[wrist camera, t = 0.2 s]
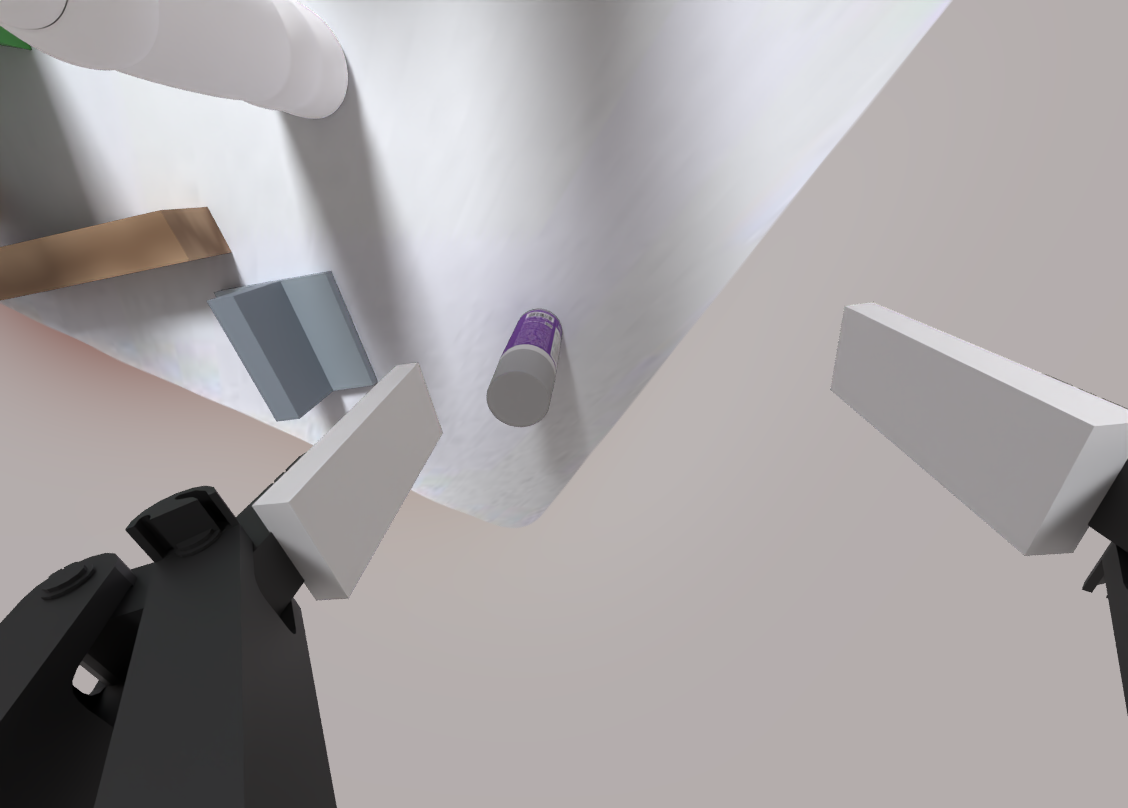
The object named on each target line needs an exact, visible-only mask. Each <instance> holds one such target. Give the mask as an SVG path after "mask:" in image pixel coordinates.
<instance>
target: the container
mask: <svg viewBox="0 0 1128 808" xmlns="http://www.w3.org/2000/svg"><path fill="white" fill-rule="evenodd" d="M561 339H562V326H561V323H560V321H559V319H558V318H557V317H556V316H555V315H554V314H553V313H551V312H550V311H547V310H545V309H533V310H530V311H528V312H526V313H525V314H523V315H522V317H521V318H520V320H519V321H518V323H517V325H516V327H515V329H514V332H513V334H512V336H511V338H510V340H509V342H508V344H507V346H506V348H505V350H504V352H503V354H502V356H501V358H500V360H499V363H498V366H497V368H496V370H495V373H494V375H493V378H492V380H491V383H490V385H489V388H488V390H487V403H488V406H489V409H490V410H491V412H492V413H493V415H494V416H495V417H496V418H497V419H499V420H500V421H501V422H503V423H505V424H508V425H510V426H515V427H526V426H530V425H533V424H535V423H537V422H539V421H540V420H541V419H542V418H543V417H544V416H545V415H546V413H547V411H548V409H549V405H550V400H551V395H552V391H553V386H554V382H555V377H556V371H557V365H558V358H559V352H560V345H561Z"/></svg>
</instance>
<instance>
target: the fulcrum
mask: <svg viewBox="0 0 1128 808" xmlns="http://www.w3.org/2000/svg"><path fill="white" fill-rule="evenodd" d="M214 294H215V295H216V297H217V298H214V299H211V300H207V302H208V304H209V306H210V308H211V309H212V311H213V313H214V314H215V316H216V318H217V320H218V321H219V323H220V325H221V327H222V328H223V330H224V332H225V333H226V335H227V337H228V339H229V340H230V342H231V344H232V345H233V347H234V349H235V351H236V352H237V354H238V356H239V358H240V359H241V361H242V363H243V364H244V366H245V368H246V370H247V371H248V373H249V375H250V376H251V378H252V380H253V382H254V383H255V385H256V387H257V389H258V390H259V392H260V394H261V395H262V397H263V399H264V401H265V402H266V404H267V406H268V407H269V409H270V411H271V413H272V414H273V416H274V418H275V420H276V421H285V420H292V419H300V418H301V417H302V416H303V415H305V414H306V413H307V412H308V411H310V410H311V409H312V408H313V407H314V406H316V405H317V404H318V403H319V402H320V401H322V400H323V399H324V398H325V397H326V396H328V395H329V394H330V393H331V392H332V391H336V390H343V389H350V388H357V387H365V386H372V385H374V384H375V383H376V382H377V379H376V377H375V374H374V372H373V370H372V367H371V365H370V363H369V360H368V358H367V355H366V353H365V351H364V348H363V346H362V344H361V341H360V339H359V336H358V334H357V332H356V329H355V327H354V325H353V322H352V320H351V318H350V315H349V313H348V310H347V308H346V306H345V303H344V301H343V299H342V296H341V294H340V291H339V289H338V287H337V284H336V282H335V280H334V277H333V275H332V272H331V271H328V272H322V273H317V274H311V275H305V276H300V277H294V278H288V279H283V280H277V281H271V282H265V283H260V284H254V285H248V286H243V287H237V288H231V289H226V290H221V291H217V292H214Z"/></svg>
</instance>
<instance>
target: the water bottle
mask: <svg viewBox="0 0 1128 808" xmlns="http://www.w3.org/2000/svg"><path fill="white" fill-rule="evenodd" d="M0 26H1V27H3V28H4V29H6V30H7V31H9V32H10V33H12V34H13V35H15V36H16V37H18V38H19V39H21V40H22V41H24V42H26V43H27V44H29V45H31V46H32V47H34V48H36V49H38V50H40V51H41V52H43V53H45V54H47V55H50V56H52V57H54V58H56V59H59V60H61V61H64V62H67V63H70V64H73V65H76V66H80V67H84V68H89V69H95V70H116V71H119V72H121V73H125V74H128V75H131V76H134V77H137V78H141V79H144V80H147V81H151V82H154V83H158V84H162V85H166V86H170V87H174V88H178V89H182V90H186V91H191V92H195V93H200V94H205V95H210V96H215V97H220V98H226V99H233V100H242V101H245V102H247V103H249V104H252V105H255V106H258V107H261V108H265V109H270V110H278V111H283V112H286V113H289V114H292V115H295V116H299V117H303V118H309V119H319V118H324V117H327V116H329V115H331V114H332V113H334V112H335V111H336V110H337V109H338V108H339V107H340V105H341V104H342V102H343V100H344V98H345V95H346V91H347V86H348V70H347V64H346V60H345V56H344V53H343V50H342V48H341V45H340V43H339V41H338V40H337V38H336V36H335V34H334V33H333V31H332V30H331V29H330V27H329V26H328V25H327V24H326V23H325V22H324V20H323V19H322V18H321V17H319V16H318V15H317V14H316V13H315V12H313V11H312V10H311V9H309V8H308V7H306V6H304V5H303V4H301V3H299V2H298V1H296V0H0Z"/></svg>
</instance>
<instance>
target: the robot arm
mask: <svg viewBox="0 0 1128 808" xmlns="http://www.w3.org/2000/svg"><path fill="white" fill-rule="evenodd" d="M830 390H831V391H832V392H833V393H835V394H836V395H837V396H838V397H839V398H840V399H842V400H843V401H844V402H845V403H846V404H847V405H849V406H850V407H851V408H852V409H853V410H854V411H856V412H857V413H858V414H859V415H860V416H862V417H863V418H864V419H865V420H866V421H867V422H869V423H870V424H871V425H872V426H873V427H874V428H876V429H877V430H878V431H879V432H880V433H881V434H883V435H884V436H885V437H886V438H887V439H888V440H890V441H891V442H892V443H893V444H895V445H896V446H897V447H898V448H899V449H900V450H901V451H903V452H904V453H905V454H906V455H907V456H908V457H910V458H911V459H912V460H913V461H914V462H916V463H917V464H918V465H919V466H920V467H921V468H922V469H924V470H925V471H926V472H927V473H928V474H929V475H931V476H932V477H933V478H934V479H935V480H937V481H938V482H939V483H940V484H941V485H942V486H943V487H945V488H946V489H947V490H948V491H949V492H951V493H952V494H953V495H954V496H955V497H956V498H958V499H959V500H960V501H961V502H962V503H963V504H965V505H966V506H967V507H968V508H969V509H970V510H972V511H973V512H974V513H975V514H976V515H978V516H979V517H980V518H981V519H982V520H983V521H985V522H986V523H987V524H988V525H989V526H990V527H991V528H993V529H994V530H995V531H996V532H997V533H999V534H1000V535H1001V536H1002V537H1003V538H1004V539H1006V540H1007V541H1008V542H1009V543H1010V544H1011V545H1013V546H1014V547H1015V548H1016V549H1017V550H1018V551H1020V552H1021V553H1022V554H1023V555H1024V556H1030V555H1046V554H1061V553H1073V552H1074V550H1075V549H1076V547H1077V545H1078V543H1079V542H1080V540H1081V539H1082V537H1083V536H1084V534H1085V532H1086V531H1087V529H1088V527H1089V526H1090V527H1092V528H1093V529H1094V530H1096V531H1097V532H1099V533H1100V534H1101V535H1103V536H1104V537H1106V538H1107V539H1109V540H1111V541H1112V542H1111V543H1110V545H1109V546H1108V548H1107V549H1106V551H1105V552H1104V554H1103V555H1102V557H1101V558H1100V560H1099V561H1098V563H1097V564H1096V566H1095V567H1094V569H1093V570H1092V572H1091V573H1090V575H1089V576H1088V578H1087V579H1086V581H1085V582H1084V585H1083V589H1082V590H1085V591H1088V592H1091V593H1092V592H1093V590H1094V589H1095V587H1096V586H1097V585H1099V584H1104V583H1106V588H1107V594H1108V595H1107V597H1106V598H1108V600H1109V605H1110V612H1111V618H1112V624H1113V630H1114V636H1115V641H1116V648H1117V654H1118V660H1119V665H1120V672H1121V678H1122V683H1123V690H1124V696H1125V702H1126V708H1127V713H1128V409H1127V408H1125V407H1123V406H1120V405H1118V404H1115V403H1113V402H1111V401H1108V400H1106V399H1104V398H1099V397H1097V396H1096V395H1094V394H1092V393H1089V392H1087V391H1084V390H1082V389H1080V388H1076V387H1073V386H1072V385H1070V384H1068V383H1065V382H1063V381H1061V380H1058V379H1056V378H1054V377H1051V376H1048V375H1046V374H1043V373H1040V372H1038V371H1035V370H1033V369H1031V368H1028V367H1026V366H1023V365H1021V364H1019V363H1016V362H1014V361H1012V360H1009V359H1007V358H1004V357H1002V356H1000V355H997V354H995V353H993V352H990V351H988V350H985V349H983V348H981V347H978V346H976V345H973V344H971V343H969V342H966V341H964V340H962V339H959V338H957V337H955V336H952V335H950V334H947V333H945V332H943V331H940V330H938V329H935V328H933V327H931V326H928V325H926V324H924V323H921V322H919V321H917V320H914V319H912V318H909V317H907V316H904V315H902V314H900V313H898V312H895V311H893V310H890V309H888V308H886V307H883V306H881V305H879V304H876V303H874V302H870V303H863V304H855V305H848V306H845V307H844V313H843V319H842V325H841V330H840V336H839V342H838V348H837V354H836V360H835V366H834V371H833V378H832V383H831V389H830ZM442 433H443V432H442V429H441V426H440V423H439V420H438V417H437V415H436V412H435V409H434V406H433V403H432V400H431V397H430V395H429V392H428V389H427V386H426V383H425V380H424V378H423V375H422V372H421V369H420V366H419V363H410V364H403V365H396V366H395V367H394V368H393V369H392V370H391V371H390V372H389V373H388V374H387V375H386V376H385V377H384V378H383V379H382V380H381V381H380V382H379V383H378V384H377V385H375V386H374V387H373V388H372V389H371V390H370V391H369V392H368V393H367V394H366V395H365V396H364V397H363V398H362V399H361V400H360V401H359V402H358V403H357V404H356V405H355V406H354V407H353V408H352V409H351V410H350V411H349V412H348V413H347V414H346V415H345V416H344V417H342V418H341V419H340V420H339V421H338V422H337V423H336V424H335V425H334V426H333V427H332V428H331V429H330V430H329V431H328V432H327V433H326V434H325V435H324V436H323V437H322V438H321V439H320V440H319V441H318V442H317V443H316V444H315V445H314V446H313V447H312V448H311V449H309V451H307V452H306V453H304V454H303V455H301V456H299V457H298V458H297V459H296V460H295V461H294V462H293V463H292V464H291V465H290V466H289V467H288V468H287V469H286V472H283V473H282V474H281V475H280V476H279V477H278V478H276V479H275V481H274V483H272V484H270V485H269V486H268V487H267V488H266V489H265V490H264V491H263V492H262V493H261V494H260V495H259V496H258V497H257V498H256V499H255V500H254V501H252V502H251V504H250V505H248V506H247V507H246V508H245V509H244V510H243V511H242V512H241V513H240V514H239V515H238V516H237V517H235V516H234V515H233V513H232V512H231V511H230V509H229V508H228V506H227V505H226V503H225V502H224V501H223V499H222V498H221V497H220V495H219V494H218V492H217V491H216V490H215V488H214V487H210V486H201V487H195V488H191V489H188V490H185V491H182V492H179V493H176V494H174V495H172V496H170V497H168V498H166V499H163V500H161V501H159V502H158V503H156V504H154V505H153V506H151V507H149V508H148V509H146V510H145V511H143V512H142V513H141V514H140V515H138V516H137V517H136V518H135V519H134V520H132V521H131V522H130V524H129V525H128V527H127V528H126V531H127V532H128V533H129V535H130V536H131V537H132V538H133V539H134V540H135V541H136V542H137V543H138V545H139V546H140V547H141V548H142V549H143V550H144V551H145V552H146V553H147V555H148V556H149V557H150V558H151V559H152V560H153V561H154V563H151V564H147V565H144V566H141V567H138V568H134V569H131V570H130V569H129V568H128V567H127V565H125V564H124V562H123V561H122V560H121V559H120V558H119V557H118V556H117V555H116V554H113V553H104V554H100V555H97V556H92V557H89V558H87V559H84V560H82V561H80V562H74V563H72V564H70V565H68V566H66V567H64V569H60V570H58V571H57V572H55V573H53V574H52V575H50V576H49V578H48V579H47V580H45V581H44V582H42V583H41V584H40V585H38V586H36V587H35V588H34V589H33V590H32V591H31V592H30V593H29V594H28V595H26V596H25V597H24V598H23V599H22V600H21V601H20V602H19V603H18V604H17V606H16V607H15V608H14V609H13V610H12V611H11V612H10V613H9V614H8V615H7V616H6V618H5V619H4V620H3V621H2V622H1V623H0V808H337V806H336V801H335V795H334V790H333V784H332V779H331V773H330V768H329V762H328V757H327V751H326V746H325V740H324V735H323V729H322V724H321V718H320V713H319V707H318V701H317V696H316V690H315V685H314V680H313V674H312V668H311V663H310V658H309V652H308V646H307V641H306V635H305V629H304V624H303V618H302V613H301V608H300V607H299V605H298V604H297V602H296V601H295V599H294V598H293V597H294V595H295V594H296V592H297V591H298V589H299V588H300V587H301V585H302V584H303V583H305V585H306V586H307V588H308V589H309V590H310V592H311V593H312V595H313V596H314V598H315V599H316V600H331V599H346V598H349V596H350V595H351V593H352V591H353V590H354V588H355V586H356V584H357V583H358V581H359V579H360V577H361V576H362V574H363V572H364V570H365V569H366V567H367V565H368V563H369V562H370V560H371V558H372V556H373V555H374V553H375V551H376V549H377V548H378V546H379V544H380V542H381V541H382V539H383V537H384V535H385V534H386V532H387V530H388V528H389V527H390V525H391V523H392V521H393V519H394V518H395V516H396V514H397V512H398V511H399V509H400V507H401V505H402V504H403V502H404V500H405V498H406V497H407V495H408V493H409V491H410V490H411V488H412V486H413V484H414V483H415V481H416V479H417V477H418V476H419V474H420V472H421V470H422V469H423V467H424V465H425V463H426V462H427V460H428V458H429V456H430V455H431V453H432V451H433V449H434V448H435V446H436V444H437V442H438V440H439V439H440V437H441V435H442ZM79 665H81V666H82V667H84V668H85V669H86V670H87V671H88V672H90V673H91V674H92V675H93V676H95V677H96V678H97V679H99V681H98V683H97V684H96V686H95V688H94V689H93V691H92V692H91V693H90V694H89V695H87V694H84V693H82V692H81V691H79V690H78V689H77V688H75V687H74V686H73V684H72V680H73V678H74V675H75V672H76V670H77V668H78V666H79Z"/></svg>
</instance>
